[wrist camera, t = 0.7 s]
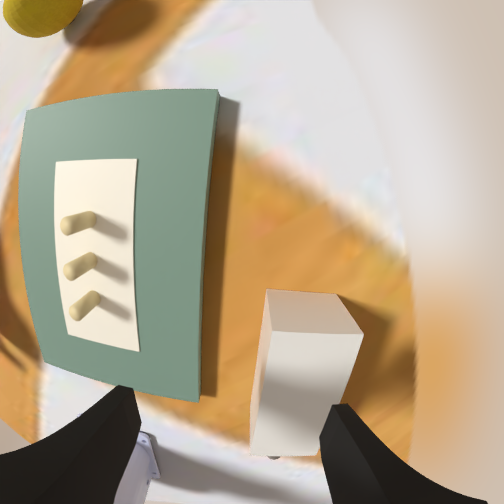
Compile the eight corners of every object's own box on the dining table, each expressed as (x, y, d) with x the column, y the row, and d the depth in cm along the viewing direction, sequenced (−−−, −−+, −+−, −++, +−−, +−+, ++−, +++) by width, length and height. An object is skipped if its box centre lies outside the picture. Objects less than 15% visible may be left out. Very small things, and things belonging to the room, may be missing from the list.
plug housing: (296, 433, 20) (303, 478, 15) (245, 432, 20) (245, 478, 15) (336, 293, 17) (364, 334, 12) (266, 288, 17) (272, 330, 12)
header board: (200, 391, 19) (193, 427, 15) (51, 354, 18) (29, 377, 15) (220, 95, 14) (211, 72, 10) (36, 112, 13) (3, 106, 10)
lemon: (104, -15, 11) (59, -64, 3) (96, 32, 12) (34, -17, 4) (50, 13, 11) (-2, -20, 3) (40, 60, 12) (-26, 34, 5)
